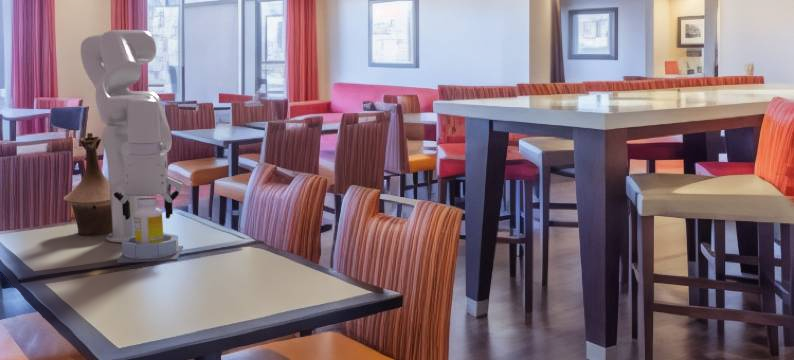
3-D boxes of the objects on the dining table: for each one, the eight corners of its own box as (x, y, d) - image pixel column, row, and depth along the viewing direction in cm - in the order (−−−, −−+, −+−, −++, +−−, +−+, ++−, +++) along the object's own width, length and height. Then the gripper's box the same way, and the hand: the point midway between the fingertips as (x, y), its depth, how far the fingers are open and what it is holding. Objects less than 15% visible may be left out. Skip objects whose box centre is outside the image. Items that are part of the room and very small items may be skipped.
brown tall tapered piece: (64, 229, 236) (57, 131, 232) (126, 223, 243) (120, 129, 239) (68, 241, 220) (60, 137, 216) (134, 234, 227) (127, 133, 223)
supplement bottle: (168, 247, 206) (165, 196, 205) (158, 253, 200) (155, 201, 198) (142, 246, 207) (139, 196, 205) (131, 253, 201) (128, 201, 199)
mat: (126, 249, 209) (126, 248, 209) (183, 247, 212) (182, 245, 212) (116, 263, 196) (116, 261, 196) (177, 260, 198) (177, 258, 198)
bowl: (128, 248, 209) (127, 234, 208) (180, 246, 211) (180, 232, 210) (119, 260, 196) (118, 246, 196) (175, 258, 198) (174, 243, 198)
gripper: (182, 146, 205) (185, 213, 208) (110, 147, 202) (114, 215, 206) (179, 151, 198) (182, 220, 201) (104, 152, 195) (108, 222, 198)
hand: (148, 217), depth 203 cm, fingers open, 9 cm apart
